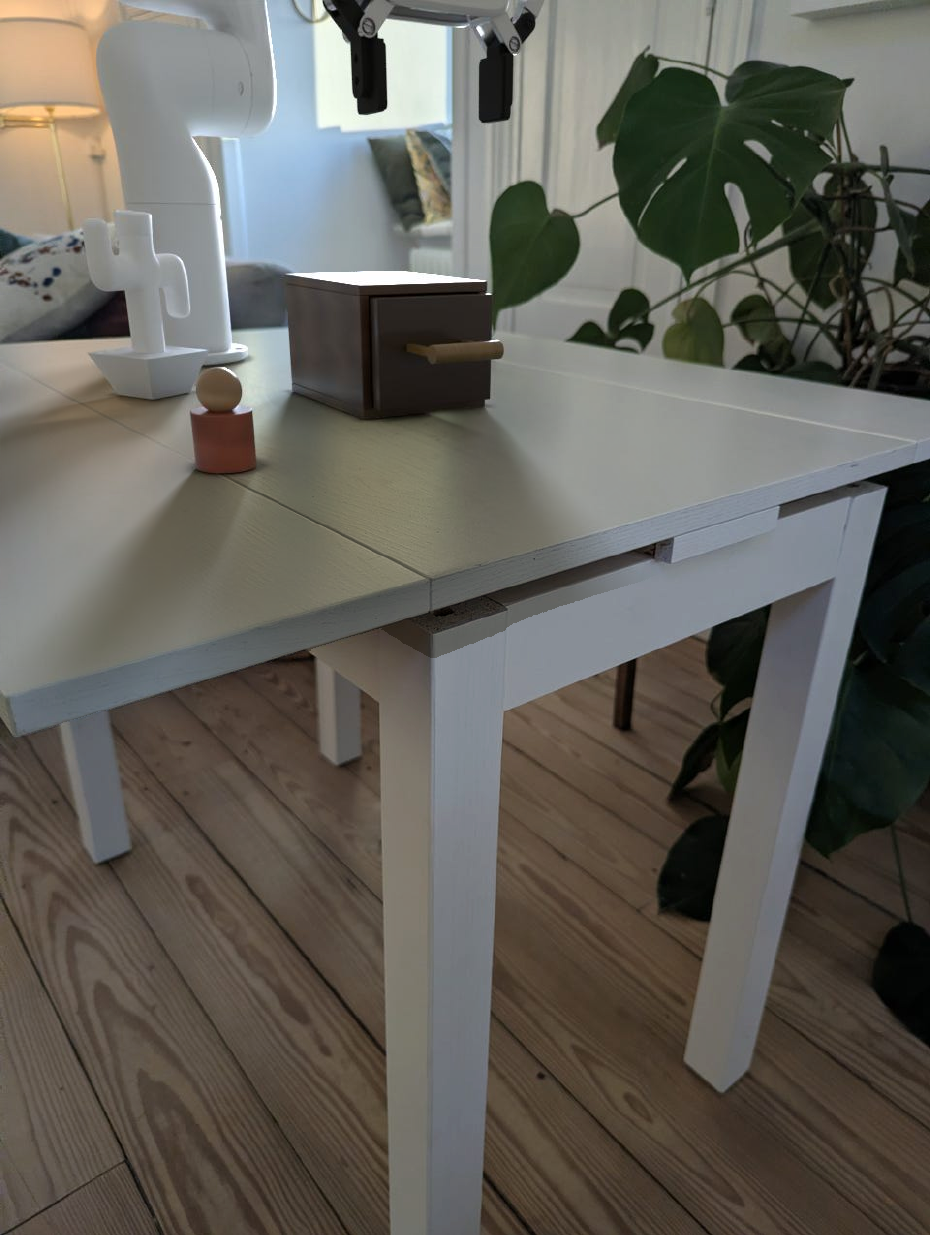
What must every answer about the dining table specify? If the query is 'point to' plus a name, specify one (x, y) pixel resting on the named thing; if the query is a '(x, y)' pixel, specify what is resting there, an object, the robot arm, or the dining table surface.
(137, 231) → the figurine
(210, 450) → the peg doll
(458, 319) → the drawer
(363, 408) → the cabinet
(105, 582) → the dining table surface
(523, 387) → the dining table surface
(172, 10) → the robot arm
